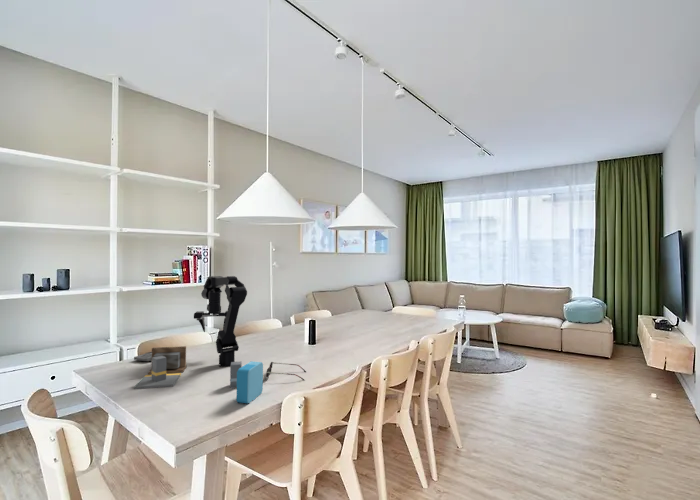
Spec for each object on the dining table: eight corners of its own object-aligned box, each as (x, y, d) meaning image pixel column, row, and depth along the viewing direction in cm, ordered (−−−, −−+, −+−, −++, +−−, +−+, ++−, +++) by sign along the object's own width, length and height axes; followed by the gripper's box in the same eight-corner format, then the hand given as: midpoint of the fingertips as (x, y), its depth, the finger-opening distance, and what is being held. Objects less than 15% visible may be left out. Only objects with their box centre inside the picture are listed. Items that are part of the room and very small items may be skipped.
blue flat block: (251, 391, 141) (252, 360, 142) (262, 392, 140) (263, 361, 141) (236, 403, 130) (236, 369, 130) (247, 405, 129) (248, 370, 129)
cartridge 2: (241, 383, 150) (241, 361, 150) (240, 387, 146) (241, 364, 146) (230, 384, 149) (231, 362, 149) (230, 387, 145) (230, 365, 145)
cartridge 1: (161, 377, 154) (162, 355, 154) (166, 379, 151) (166, 357, 151) (151, 379, 151) (151, 357, 151) (155, 382, 148) (156, 359, 148)
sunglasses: (270, 372, 166) (271, 360, 166) (306, 374, 167) (307, 362, 167) (265, 382, 152) (266, 370, 152) (304, 384, 153) (305, 372, 153)
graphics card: (156, 346, 195) (174, 348, 191) (156, 353, 195) (174, 355, 191) (128, 355, 179) (147, 357, 175) (128, 363, 179) (147, 365, 175)
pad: (181, 375, 159) (181, 373, 159) (173, 386, 146) (173, 384, 146) (145, 377, 156) (145, 375, 156) (134, 388, 143) (134, 386, 143)
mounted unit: (186, 367, 170) (186, 345, 170) (182, 372, 163) (183, 349, 163) (152, 369, 167) (153, 347, 167) (147, 374, 160) (148, 351, 160)
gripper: (234, 298, 197) (234, 327, 197) (197, 299, 193) (197, 329, 193) (233, 301, 186) (232, 332, 186) (193, 301, 182) (193, 333, 182)
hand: (214, 331), depth 187 cm, fingers open, 9 cm apart
